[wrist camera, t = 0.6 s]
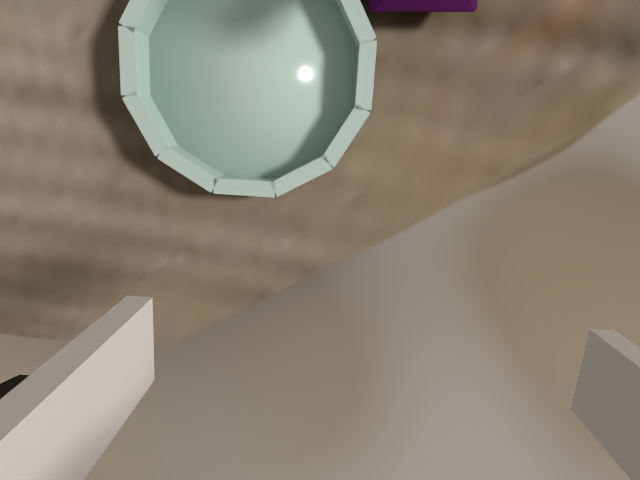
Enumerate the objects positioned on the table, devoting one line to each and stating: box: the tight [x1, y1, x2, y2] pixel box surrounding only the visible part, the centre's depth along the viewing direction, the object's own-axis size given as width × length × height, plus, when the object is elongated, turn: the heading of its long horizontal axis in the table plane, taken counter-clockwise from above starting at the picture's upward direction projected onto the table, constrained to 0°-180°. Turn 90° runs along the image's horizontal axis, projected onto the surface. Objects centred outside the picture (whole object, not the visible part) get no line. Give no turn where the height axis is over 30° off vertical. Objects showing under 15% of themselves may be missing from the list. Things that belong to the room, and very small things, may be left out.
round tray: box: [118, 0, 377, 197], centre depth 34 cm, size 18×18×4 cm
